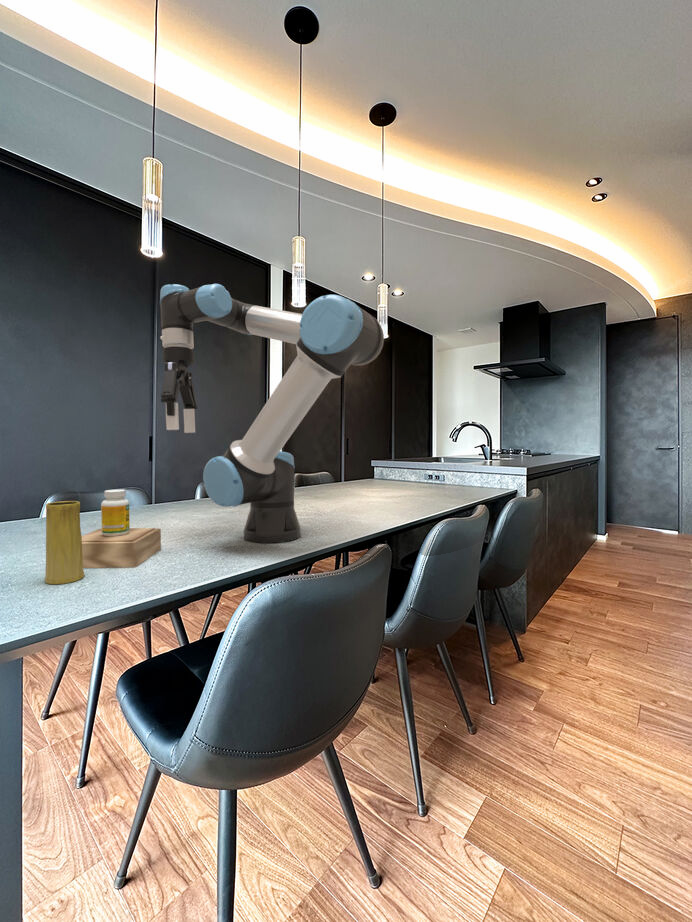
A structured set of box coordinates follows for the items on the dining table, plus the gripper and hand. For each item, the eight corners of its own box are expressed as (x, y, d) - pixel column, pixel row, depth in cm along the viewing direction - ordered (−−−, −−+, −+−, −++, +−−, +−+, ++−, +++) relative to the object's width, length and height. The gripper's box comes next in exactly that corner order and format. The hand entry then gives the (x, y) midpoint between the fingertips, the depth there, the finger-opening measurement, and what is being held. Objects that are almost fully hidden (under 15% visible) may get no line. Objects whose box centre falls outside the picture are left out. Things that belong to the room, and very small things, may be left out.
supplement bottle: (101, 532, 92) (100, 489, 91) (128, 530, 95) (127, 488, 94) (102, 537, 87) (101, 492, 87) (130, 535, 90) (130, 491, 90)
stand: (160, 549, 99) (160, 527, 98) (135, 567, 85) (135, 541, 84) (99, 550, 98) (99, 527, 97) (63, 568, 84) (62, 542, 83)
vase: (55, 587, 73) (53, 506, 72) (38, 581, 76) (35, 503, 75) (91, 577, 78) (89, 502, 78) (73, 572, 81) (71, 499, 81)
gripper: (179, 360, 119) (182, 434, 120) (143, 335, 94) (147, 428, 95) (206, 359, 120) (209, 433, 120) (176, 334, 95) (181, 427, 95)
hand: (181, 431), depth 107 cm, fingers open, 13 cm apart
